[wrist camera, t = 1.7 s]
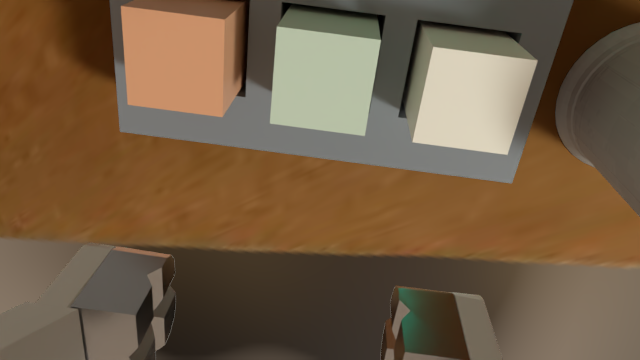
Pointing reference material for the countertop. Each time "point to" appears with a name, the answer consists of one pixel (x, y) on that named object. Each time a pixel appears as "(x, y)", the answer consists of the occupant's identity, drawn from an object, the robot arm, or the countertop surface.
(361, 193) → the countertop surface
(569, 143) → the grey black ceramic vase
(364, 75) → the key mid
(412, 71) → the key
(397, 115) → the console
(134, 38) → the key
